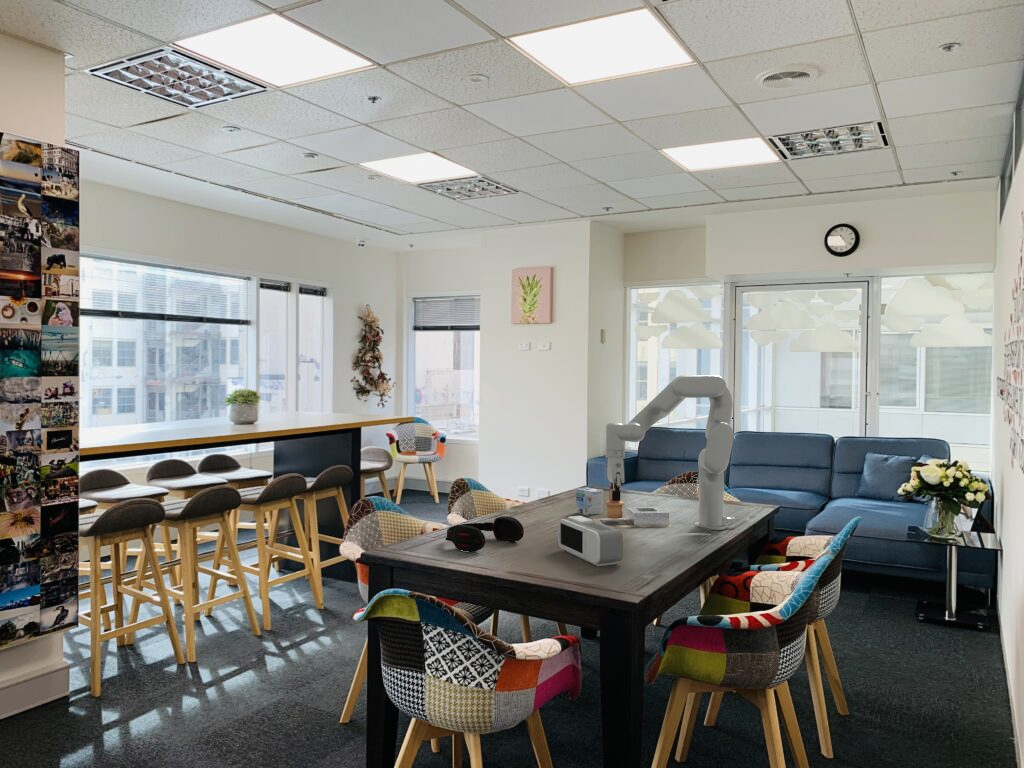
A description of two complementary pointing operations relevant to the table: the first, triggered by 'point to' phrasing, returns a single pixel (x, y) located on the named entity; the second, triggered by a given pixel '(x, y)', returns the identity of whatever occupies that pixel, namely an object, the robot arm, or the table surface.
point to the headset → (474, 539)
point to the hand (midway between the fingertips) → (614, 499)
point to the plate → (639, 518)
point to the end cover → (614, 507)
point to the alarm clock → (590, 540)
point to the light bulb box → (589, 501)
